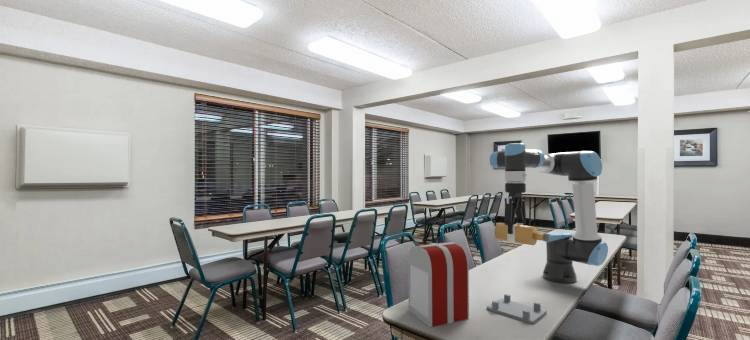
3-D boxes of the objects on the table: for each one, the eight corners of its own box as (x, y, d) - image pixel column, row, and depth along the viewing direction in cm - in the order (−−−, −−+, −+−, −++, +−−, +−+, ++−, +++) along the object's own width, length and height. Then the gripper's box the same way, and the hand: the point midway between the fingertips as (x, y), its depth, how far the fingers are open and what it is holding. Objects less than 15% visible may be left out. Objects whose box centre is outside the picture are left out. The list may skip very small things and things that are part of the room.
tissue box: (407, 309, 133) (407, 242, 134) (444, 302, 140) (444, 238, 140) (430, 327, 118) (429, 251, 118) (470, 318, 125) (469, 246, 125)
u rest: (486, 309, 133) (486, 300, 133) (501, 300, 142) (501, 292, 142) (533, 324, 120) (533, 314, 120) (546, 313, 129) (546, 304, 129)
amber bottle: (494, 241, 134) (494, 224, 134) (502, 238, 139) (502, 221, 139) (545, 249, 120) (544, 230, 120) (552, 245, 125) (551, 226, 125)
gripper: (513, 183, 122) (513, 246, 122) (535, 182, 136) (535, 238, 136) (494, 182, 127) (494, 243, 127) (516, 181, 141) (516, 236, 141)
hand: (515, 240), depth 131 cm, fingers closed on amber bottle, 7 cm apart
